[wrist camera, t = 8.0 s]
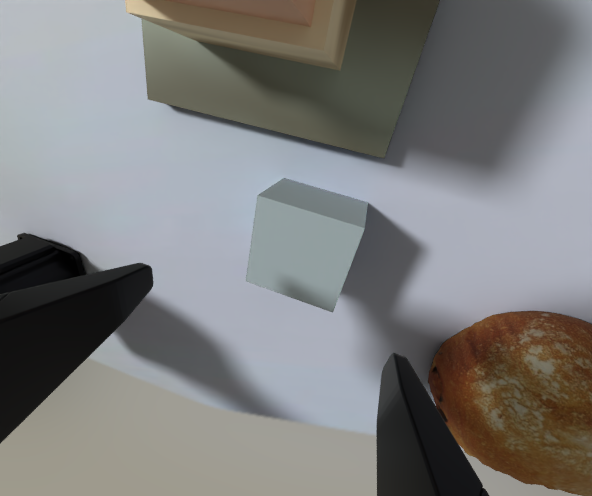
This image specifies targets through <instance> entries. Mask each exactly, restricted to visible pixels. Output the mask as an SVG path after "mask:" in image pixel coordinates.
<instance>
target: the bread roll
mask: <svg viewBox="0 0 592 496" xmlns="http://www.w3.org/2000/svg"><path fill="white" fill-rule="evenodd" d="M428 383H429V384H430V390H431V393H432V395H433V398H434V401H435V404H436V408H437V409H438V411H439V413H440V415H441V416H442V418H443V420H444V421H445V423H446V425H447V426H448V428H449V430H450V431H451V433H452V435H453V436H454V438H455V440H456V441H457V443H458V444H459V445H460V446H461V447H462V448H463V449H464V451H465V453H467V454H468V455H470V456H473V457H476V458H477V459H479V461H480V462H481V463H483V464H484V465H486V466H489V467H491V468H492V469H494V470H496V471H500V472H502V473H504V474H508V475H510V476H512V477H513V478H515V479H517V480H519V481H521V482H523V483H525V484H538V485H544V486H545V487H547V488H548V489H554V490H558V489H559V490H562V491H565V492H568V493H572V494H578V495H582V496H592V324H590V323H588V322H585V321H583V320H580V319H577V318H573V317H569V316H566V315H562V314H557V313H551V312H543V311H521V312H508V313H502V314H496V315H492V316H490V317H487V318H485V319H483V320H482V321H480V322H477V323H475V324H474V325H472V326H471V327H468V328H466V329H464V330H462V331H461V332H459V333H458V334H456V335H454V336H452V337H451V338H449V339H448V340H446V341H445V342H444V343H443V344H442V346H441V347H440V349H439V351H438V352H437V354H436V355H435V357H434V359H433V364H432V366H431V369H430V371H429V378H428Z"/></svg>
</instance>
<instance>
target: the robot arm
mask: <svg viewBox="0 0 592 496" xmlns="http://www.w3.org/2000/svg"><path fill="white" fill-rule="evenodd" d="M17 237H18V240H17V241H14V242H11V243H8V244H6V245H3V246H0V443H1V442H2V441H3V440H4V439H5V438H6V437H7V436H8V435H9V434H10V433H11V432H12V431H13V430H14V429H15V428H16V427H17V426H19V425H20V424H21V423H22V422H23V421H24V420H25V419H26V418H27V416H29V415H30V414H31V413H32V412H33V411H34V410H35V409H36V408H37V407H38V406H39V405H40V404H41V403H42V402H43V401H44V400H45V399H46V398H47V397H48V396H49V395H50V394H51V393H52V392H53V391H54V390H55V389H56V388H57V387H58V386H59V385H60V384H61V383H62V382H63V381H64V380H65V379H66V378H67V377H68V376H69V375H70V374H71V373H72V372H73V371H74V370H75V369H76V368H77V367H78V366H79V365H80V364H81V363H83V362H84V361H85V360H86V359H87V358H88V357H89V356H90V355H91V354H92V353H93V352H94V351H95V350H96V349H97V348H98V347H99V346H100V345H101V344H102V343H103V342H104V341H105V340H106V339H107V338H108V337H109V336H110V335H111V334H112V333H113V332H114V331H115V330H116V329H117V328H118V327H119V326H120V325H121V324H122V323H123V322H124V321H125V320H126V319H127V317H128V316H129V315H130V314H131V313H132V312H133V310H134V309H135V308H136V307H137V306H138V304H139V303H140V302H141V301H142V300H143V298H144V297H145V296H146V295H147V294H148V293H149V291H150V290H151V289H152V287H153V274H152V268H151V266H149V265H146V264H143V263H136V264H132V265H127V266H123V267H119V268H114V269H110V270H105V271H101V272H97V273H92V274H88V275H85V274H84V271H83V267H82V263H81V259H80V256H79V255H78V253H76V252H75V251H72V250H70V249H67V248H64V247H62V246H59V245H56V244H53V243H51V242H48V241H45V240H43V239H40V238H37V237H34V236H32V235H29V234H26V233H22V234H19V235H17ZM482 487H483V485H482V483H481V481H480V480H479V478H478V476H477V475H476V473H475V471H474V470H473V468H472V466H471V465H470V463H469V462H468V460H467V458H466V457H465V455H464V453H463V451H462V450H461V448H460V446H459V445H458V443H457V441H456V440H455V438H454V436H453V435H452V433H451V431H450V430H449V428H448V426H447V425H446V423H445V421H444V420H443V418H442V416H441V415H440V413H439V411H438V409H437V408H436V406H435V404H434V403H433V401H432V399H431V398H430V396H429V394H428V393H427V391H426V389H425V388H424V386H423V384H422V383H421V381H420V379H419V378H418V376H417V374H416V373H415V371H414V369H413V368H412V366H411V364H410V363H409V361H408V359H407V358H406V357H404V356H402V355H399V354H396V353H393V354H392V355H391V356H390V358H389V359H388V361H387V363H386V365H385V366H384V368H383V371H382V376H381V385H380V395H379V405H378V414H377V496H489V495H488V493H487V491H486V490H485V489H484V488H482Z"/></svg>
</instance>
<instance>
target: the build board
mask: <svg viewBox="0 0 592 496" xmlns="http://www.w3.org/2000/svg"><path fill="white" fill-rule="evenodd" d="M439 1H440V0H316V1H315V7H314V12H313V18H312V24H311V27H310V26H304V25H298V24H293V23H287V22H282V21H276V20H271V19H265V18H260V17H254V16H249V15H243V14H237V13H232V12H226V11H221V10H215V9H210V8H204V7H199V6H193V5H187V4H182V3H176V2H171V1H165V0H125V3H126V12H127V13H130V14H132V15H135V16H137V17H140V18H142V31H143V44H144V56H145V69H146V82H147V94H148V99H149V100H153V101H157V102H161V103H165V104H169V105H173V106H177V107H181V108H185V109H189V110H193V111H197V112H201V113H205V114H209V115H213V116H217V117H221V118H225V119H229V120H232V121H236V122H240V123H244V124H248V125H252V126H256V127H260V128H264V129H268V130H272V131H276V132H280V133H284V134H288V135H292V136H296V137H300V138H304V139H308V140H312V141H316V142H320V143H324V144H328V145H332V146H336V147H340V148H344V149H348V150H352V151H356V152H360V153H364V154H368V155H372V156H376V157H380V158H384V157H385V154H386V151H387V149H388V146H389V143H390V140H391V137H392V134H393V132H394V129H395V126H396V123H397V120H398V117H399V115H400V112H401V109H402V106H403V103H404V100H405V98H406V95H407V92H408V89H409V86H410V83H411V81H412V78H413V75H414V72H415V69H416V66H417V64H418V61H419V58H420V55H421V52H422V50H423V47H424V44H425V41H426V38H427V35H428V33H429V30H430V27H431V24H432V21H433V18H434V16H435V13H436V10H437V7H438V4H439Z"/></svg>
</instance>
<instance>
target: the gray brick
mask: <svg viewBox="0 0 592 496" xmlns="http://www.w3.org/2000/svg"><path fill="white" fill-rule="evenodd" d="M367 206H368V202H365V201H361V200H358V199H354V198H351V197H348V196H344V195H341V194H337V193H334V192H330V191H327V190H323V189H320V188H317V187H313V186H310V185H306V184H303V183H299V182H296V181H293V180H289V179H286V178H283V179H282V180H280V181H279V182H277V183H276V184H274V185H273V186H271V187H270V188H268V189H267V190H265V191H264V192H262V193H260V194H259V195H258V196H257V203H256V210H255V218H254V225H253V232H252V239H251V246H250V254H249V261H248V268H247V275H246V281H247V282H249V283H252V284H255V285H258V286H260V287H263V288H266V289H269V290H272V291H274V292H277V293H280V294H283V295H286V296H288V297H291V298H294V299H297V300H300V301H302V302H305V303H308V304H311V305H313V306H316V307H319V308H322V309H325V310H327V311H330V312H333V311H334V308H335V305H336V303H337V300H338V298H339V295H340V292H341V290H342V287H343V285H344V282H345V279H346V277H347V274H348V271H349V269H350V266H351V264H352V261H353V258H354V256H355V253H356V250H357V248H358V245H359V243H360V240H361V237H362V235H363V232H364V229H365V223H366V215H367Z"/></svg>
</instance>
